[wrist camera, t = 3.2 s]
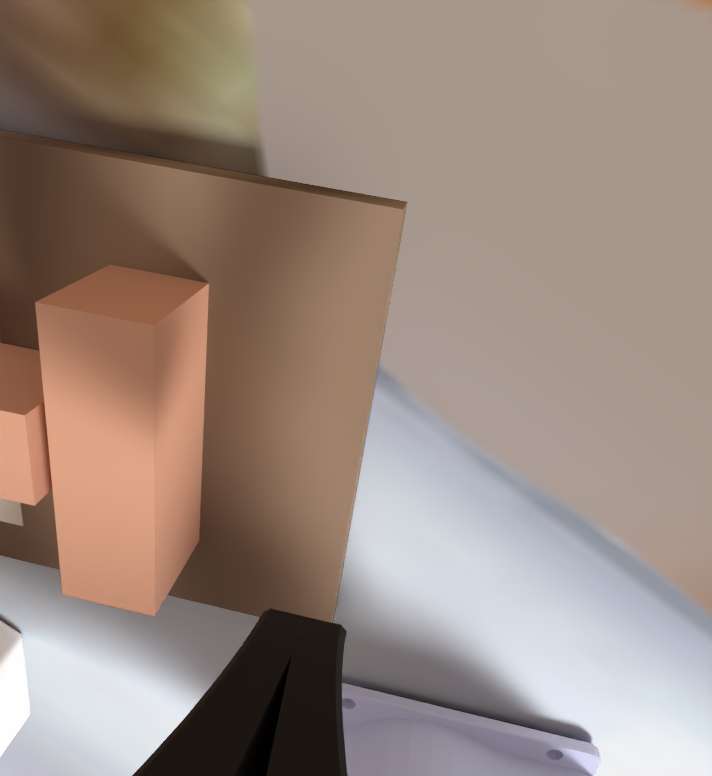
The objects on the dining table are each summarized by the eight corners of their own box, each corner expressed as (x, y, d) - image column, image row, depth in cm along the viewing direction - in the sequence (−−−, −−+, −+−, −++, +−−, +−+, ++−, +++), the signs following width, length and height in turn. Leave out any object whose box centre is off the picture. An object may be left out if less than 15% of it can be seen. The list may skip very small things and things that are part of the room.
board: (407, 202, 14) (403, 209, 14) (335, 609, 20) (329, 634, 19) (-358, 65, 16) (-409, 64, 15) (-221, 479, 22) (-252, 496, 21)
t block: (209, 283, 15) (154, 325, 12) (199, 540, 19) (154, 616, 16) (-99, 224, 16) (-215, 252, 13) (-51, 484, 19) (-134, 549, 17)
